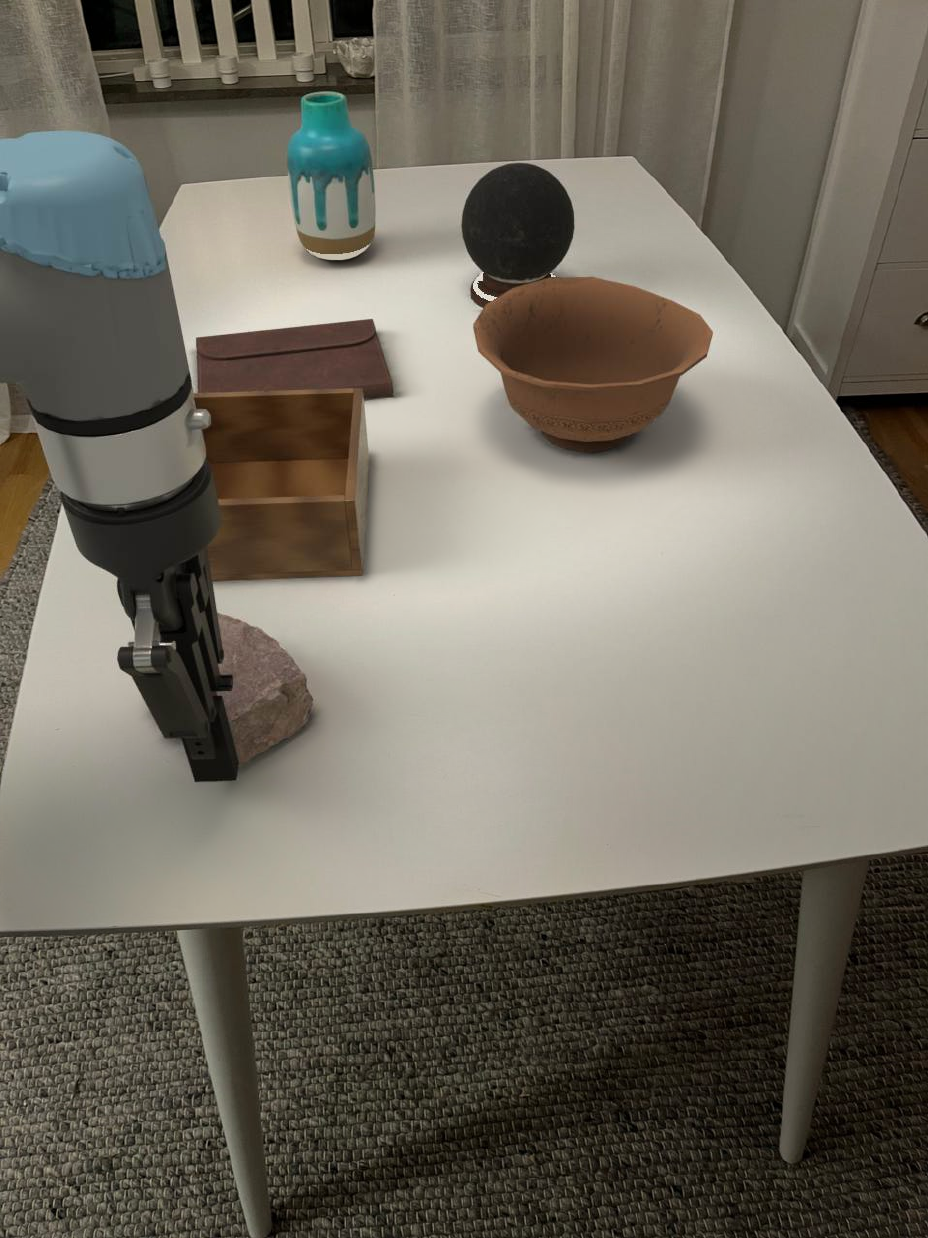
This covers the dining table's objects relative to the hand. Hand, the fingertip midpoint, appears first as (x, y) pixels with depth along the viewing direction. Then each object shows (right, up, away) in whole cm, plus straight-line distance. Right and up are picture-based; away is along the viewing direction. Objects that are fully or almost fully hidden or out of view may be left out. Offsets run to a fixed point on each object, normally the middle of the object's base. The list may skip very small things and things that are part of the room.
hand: (217, 772), depth 67 cm
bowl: (+28, +29, +34) cm, 53 cm away
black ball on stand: (+23, +50, +57) cm, 79 cm away
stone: (-1, +4, +6) cm, 7 cm away
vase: (0, +58, +66) cm, 88 cm away
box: (-1, +19, +24) cm, 31 cm away
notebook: (-2, +36, +43) cm, 57 cm away
